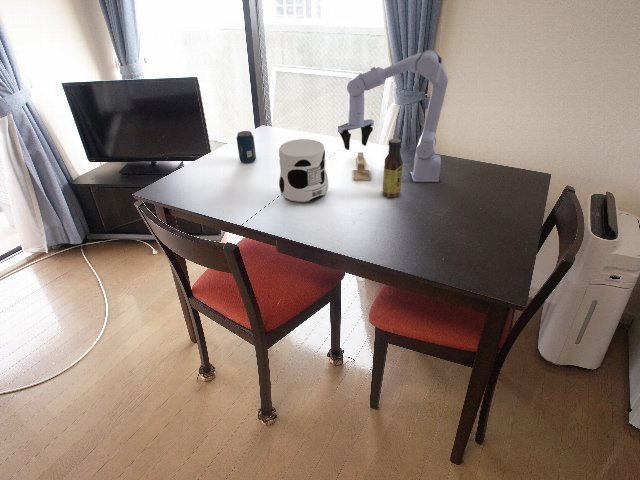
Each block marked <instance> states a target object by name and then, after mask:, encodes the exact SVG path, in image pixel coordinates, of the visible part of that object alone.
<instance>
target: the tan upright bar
mask: <svg viewBox="0 0 640 480" xmlns="http://www.w3.org/2000/svg"><path fill="white" fill-rule="evenodd" d="M356 155H357V156H356V162H357V169H353V181H370V180H371V177H370V169H365V158H364V152H362V151H361V152H356Z"/></svg>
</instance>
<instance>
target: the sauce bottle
mask: <svg viewBox="0 0 640 480" xmlns="http://www.w3.org/2000/svg"><path fill="white" fill-rule="evenodd" d="M401 145H402V140H401V139H400V138H389V139H388V151H387V152H388V153H387V155H386V157H385V159H384V166H383V176H382V177H383V178H382V179H383V180H382V194H383V196H384V197H385V198H391V199H394V198H398V197H399V196H400V194H401V190H402V179H403V178H402V176H403V167H404V162H403V158H402V155H401Z"/></svg>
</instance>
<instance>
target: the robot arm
mask: <svg viewBox="0 0 640 480" xmlns="http://www.w3.org/2000/svg"><path fill="white" fill-rule="evenodd" d="M405 72H411V73H414V74H416V73H417V72H418V74H419V75H420V76H421V77H423V78H425V79H427V80H428V81H429V83H430V84H431V85H432V87H431V88H432V89H431V92H430V96H429V97H430V98H429V102H428V106H427V111H426V116H425V121H424V125H423V130H422V134H421V136H420V137H419V140H418V143H417V146H416V148H415V153H414V161H413V170H412V171H410V176H411V179H412V182H413V183H439V182H440V174H441V167H442V157H441V155H440V154H436V153H435V148H436V145H437V137H436V135H437V134H436V133H437V130H438V125H439V122H440V117H441V112H442V108H443V104H444V101H445V96H446V92H447V88H448V82H449V76H448V73H447V69H446V68H445V65H444V61H443V58H442V57H441V56H440V55H439V54H438V52H437V51H435V50H433V49H428V50H425V51H424V52H423V51H422V52H418V53H415V54H412V55H410V56H408V57H405V58H404V59H401V60H400V61H398V62H395V63H394V64H391V65H389V66H387V67H385V68H381V67H379V66H377V67H376V66H373V67H371V68H370V70H368V71H366V72H363V73H362V72H361V73H359V74H358V75H355V76H353V77H352V78H351V79H350V80H349V81H348V83H347V85H346V91H347V93H348V99H347V100H348V111H347V112H348V113H347V115H348V117H347V119H348V120H347V122H346V123H344V124H341V125H339V126H337V132H338V133H339V135H340V137H341V139H342V143H343V146H344V149H345V150H346V151H349V150H350V147H351V146H350V145H351V143H350V142H351V136H352V133H350V131H352V130H357V129H360V131H361V133H360V134H361V145H363V146H364V147H366V146H367V144H368V140H369V138H370V135H371V134H372V132H373V131H374V128H373V127H374V125H375V120H373V119H372V118H371V119H365V91H370V90H372V89H375V88H377V87H379V86H382V85H384V84H385V83H386V80H387V79H389V78H391V77H395V76H397V75H399V74H402V73H405Z"/></svg>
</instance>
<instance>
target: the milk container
mask: <svg viewBox="0 0 640 480" xmlns="http://www.w3.org/2000/svg"><path fill="white" fill-rule="evenodd" d="M278 156H279V168H280V173H279V178H278V179H279V180H278V186H279V190H280V193H281V195H282V197H283V198H285V199H286V200H288V201H290V202H293V203H299V204H300V203H301V204H302V203H305V204H306V203H313V202H316V201H318V200H320V199H322V198H323V197H325V195H326V194H327V192H328V188H329V178H328V174H327V169H326V150H325V146H324V144H323V143H322V142H320V141H319V140H315V139H309V138H299V139H292V140H289V141H285V142H284V143H282V144H281V145H280V146H279V149H278Z"/></svg>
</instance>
